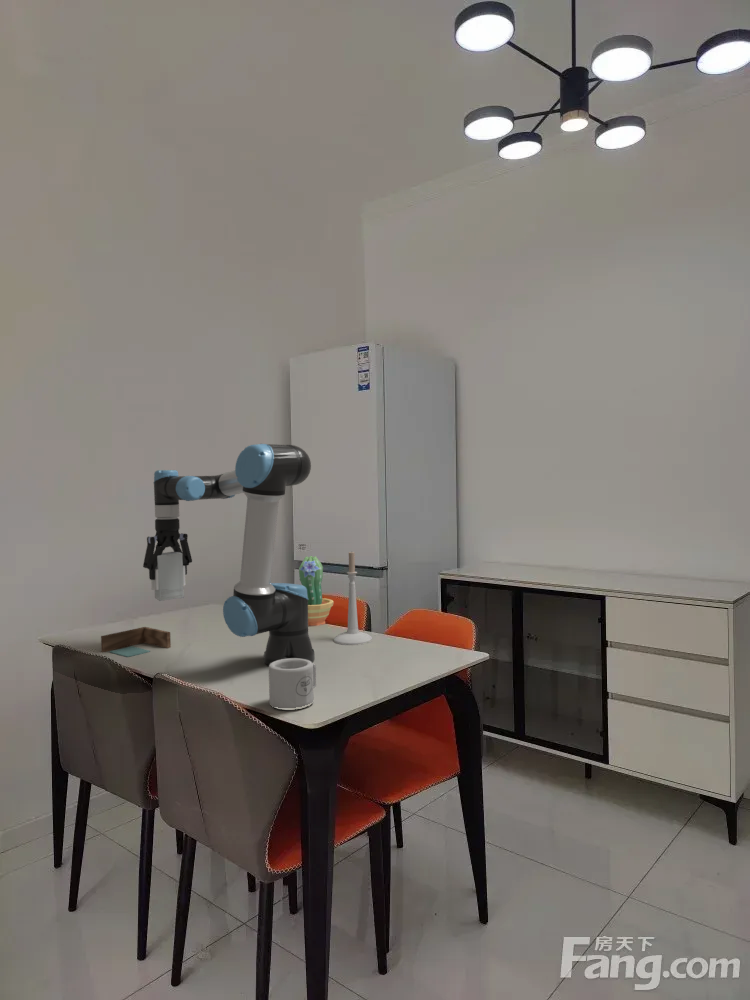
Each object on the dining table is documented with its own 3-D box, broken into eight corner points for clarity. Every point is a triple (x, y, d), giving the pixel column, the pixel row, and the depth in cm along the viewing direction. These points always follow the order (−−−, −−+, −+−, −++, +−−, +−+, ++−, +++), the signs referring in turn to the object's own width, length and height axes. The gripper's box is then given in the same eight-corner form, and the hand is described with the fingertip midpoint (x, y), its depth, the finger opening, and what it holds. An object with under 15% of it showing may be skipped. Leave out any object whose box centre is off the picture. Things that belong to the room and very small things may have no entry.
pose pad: (150, 651, 220) (150, 650, 220) (127, 657, 214) (127, 656, 214) (132, 647, 226) (132, 646, 226) (109, 652, 220) (109, 651, 220)
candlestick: (329, 637, 235) (328, 549, 234) (365, 634, 239) (364, 548, 238) (339, 646, 223) (337, 554, 222) (377, 643, 227) (375, 551, 226)
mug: (289, 714, 161) (288, 672, 161) (260, 705, 168) (259, 664, 168) (331, 700, 171) (330, 660, 171) (301, 691, 179) (300, 652, 178)
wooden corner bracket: (170, 647, 225) (170, 632, 225) (126, 658, 213) (126, 642, 212) (145, 641, 234) (144, 626, 234) (101, 651, 221) (101, 636, 221)
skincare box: (179, 595, 228) (178, 550, 227) (184, 598, 223) (183, 552, 222) (153, 598, 224) (152, 552, 223) (158, 601, 219) (157, 554, 218)
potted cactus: (284, 624, 257) (282, 557, 255) (310, 616, 269) (309, 552, 268) (316, 629, 248) (315, 560, 247) (342, 621, 260) (341, 555, 259)
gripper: (188, 515, 233) (190, 581, 234) (129, 519, 216) (131, 591, 217) (202, 516, 228) (204, 583, 230) (143, 520, 211) (145, 593, 212)
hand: (168, 587), depth 223 cm, fingers closed on skincare box, 9 cm apart
